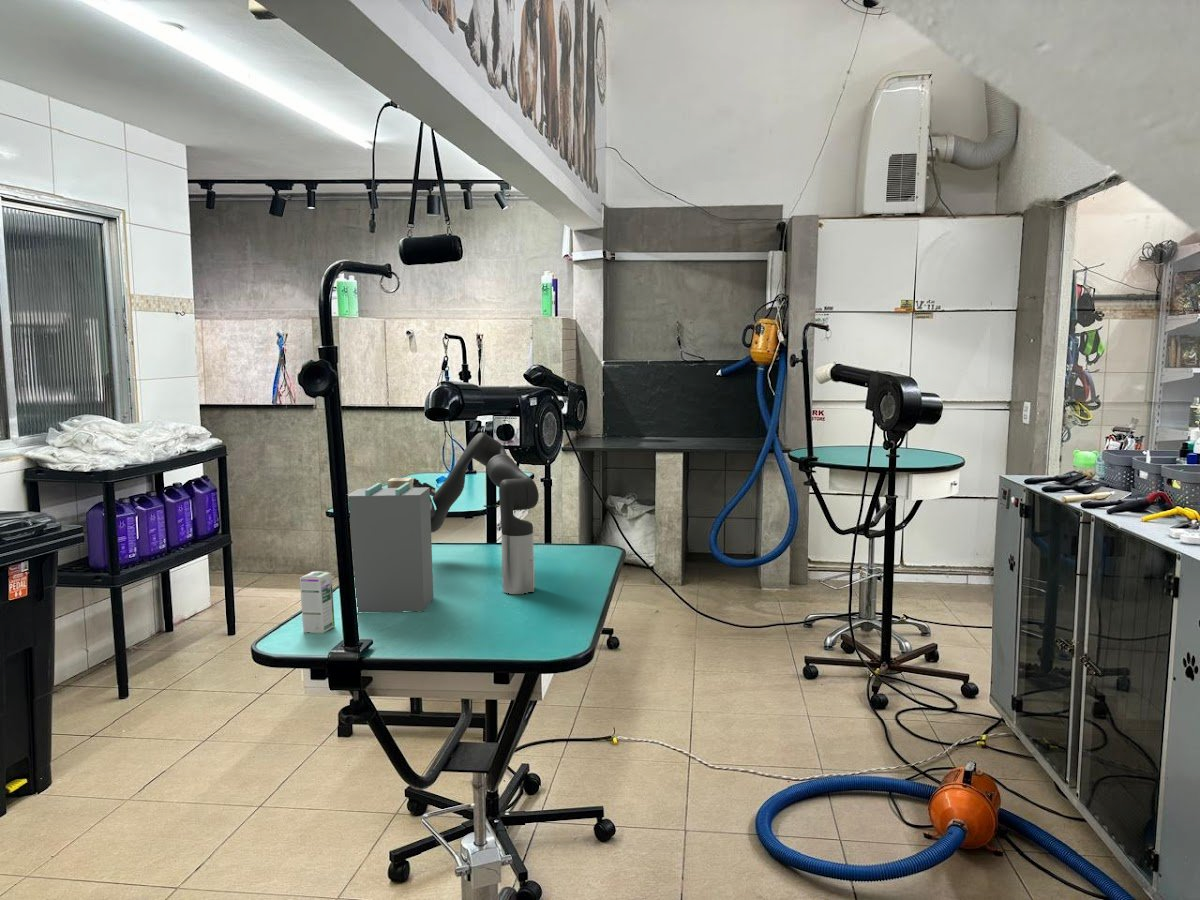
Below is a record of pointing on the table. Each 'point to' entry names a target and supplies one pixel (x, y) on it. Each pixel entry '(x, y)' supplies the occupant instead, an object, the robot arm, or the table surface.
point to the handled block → (399, 482)
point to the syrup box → (317, 602)
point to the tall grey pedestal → (391, 548)
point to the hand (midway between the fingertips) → (408, 481)
